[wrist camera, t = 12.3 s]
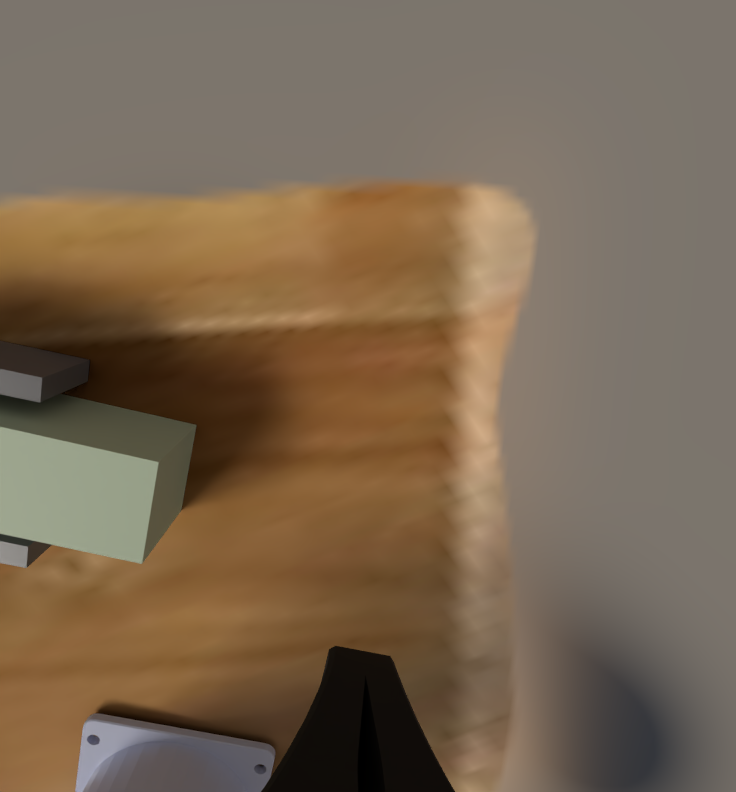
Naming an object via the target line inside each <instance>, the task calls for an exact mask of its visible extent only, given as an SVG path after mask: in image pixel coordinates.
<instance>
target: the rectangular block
mask: <svg viewBox="0 0 736 792" xmlns="http://www.w3.org/2000/svg"><path fill="white" fill-rule="evenodd" d="M195 431H196V425H195V424H191V423H186V422H182V421H177V420H173V419H169V418H164V417H160V416H156V415H151V414H147V413H142V412H138V411H134V410H129V409H125V408H121V407H116V406H112V405H108V404H103V403H99V402H94V401H90V400H86V399H81V398H77V397H73V396H68V395H64V394H58V395H56V396H54V397H52V398H49V399H47V400H45V401H43V402H35V401H30V400H25V399H20V398H16V397H11V396H6V395H1V394H0V534H4V535H9V536H14V537H18V538H23V539H28V540H32V541H37V542H42V543H46V544H51V545H56V546H61V547H65V548H70V549H75V550H79V551H84V552H89V553H93V554H98V555H103V556H108V557H112V558H117V559H122V560H126V561H131V562H136V563H140V564H142V563H143V562H144V561H145V559H146V558H147V556H148V555H149V554H150V552H151V551H152V550H153V548H154V547H155V546H156V544H157V543H158V541H159V540H160V539H161V537H162V536H163V535H164V533H165V532H166V530H167V529H168V528H169V526H170V525H171V524H172V522H173V521H174V520H175V518H176V517H177V515H178V514H179V513H180V511H181V510H182V504H183V498H184V493H185V487H186V482H187V476H188V470H189V465H190V459H191V453H192V448H193V442H194V436H195Z"/></svg>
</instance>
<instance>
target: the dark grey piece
mask: <svg viewBox="0 0 736 792" xmlns="http://www.w3.org/2000/svg"><path fill="white" fill-rule="evenodd" d="M89 365H90V360H88V359H83V358H79V357H74V356H69V355H65V354H60V353H55V352H51V351H46V350H41V349H37V348H32V347H27V346H22V345H18V344H13V343H8V342H4V341H0V394H1V395H6V396H11V397H16V398H20V399H25V400H30V401H35V402H43V401H45V400H47V399H49V398H52V397H54V396H56V395H58V394H61V393H63V392H65V391H67V390H70V389H72V388H74V387H76V386H79V385H81V384H83V383H85V382H87V381H88V374H89ZM50 546H51V544H46V543H42V542H37V541H32V540H28V539H23V538H18V537H14V536H9V535H4V534H0V563H3V564H8V565H14V566H19V567H24V568H27V567H28V566H29V565H30V564H31V563H32V562H33V561H35V560H36V559H37V558H38V557H39V556H40V555H41V554H42V553H43V552H44V551H45V550H47V549H48V548H49V547H50Z"/></svg>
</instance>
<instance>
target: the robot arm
mask: <svg viewBox="0 0 736 792" xmlns="http://www.w3.org/2000/svg"><path fill="white" fill-rule="evenodd" d="M94 735H96V736H98V737H96V736H94ZM274 759H275V750H274V748H273V747H272V746H271V745H269V744H267V743H262V742H256V741H251V740H245V739H239V738H234V737H228V736H223V735H217V734H211V733H206V732H200V731H195V730H189V729H183V728H178V727H172V726H167V725H161V724H155V723H150V722H144V721H139V720H133V719H127V718H122V717H116V716H111V715H105V714H92V715H90V716H89V717H88V718H87V720H86V722H85V723H84V726H83V732H82V740H81V748H80V757H79V765H78V773H77V782H76V790H75V792H455V791H454V789H453V788H452V786H451V784H450V782H449V781H448V779H447V777H446V775H445V773H444V772H443V770H442V768H441V766H440V764H439V763H438V761H437V759H436V757H435V755H434V753H433V751H432V749H431V747H430V745H429V743H428V741H427V739H426V737H425V735H424V733H423V731H422V729H421V727H420V724H419V722H418V720H417V718H416V716H415V714H414V711H413V709H412V707H411V705H410V702H409V700H408V698H407V695H406V693H405V690H404V688H403V685H402V683H401V680H400V678H399V675H398V672H397V670H396V667H395V664H394V662H393V660H392V658H391V657H390V656H386V655H381V654H376V653H371V652H365V651H360V650H355V649H349V648H344V647H339V646H334V647H333V648H331V649H329V652H328V657H327V661H326V665H325V669H324V673H323V677H322V682H321V685H320V687H319V690H318V692H317V695H316V697H315V699H314V701H313V703H312V705H311V708H310V710H309V712H308V714H307V716H306V718H305V720H304V722H303V724H302V726H301V728H300V729H299V731H298V733H297V735H296V737H295V738H294V740H293V742H292V744H291V746H290V747H289V749H288V751H287V753H286V754H285V756H284V757H283V759H282V761H281V762H280V764H279V765H278V767H277V769H276V770H275V772H274V773H273V775H272V776H271V773H272V768H273V764H274ZM258 764H262V765H264V766H260V765H258ZM270 777H271V778H270Z"/></svg>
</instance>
